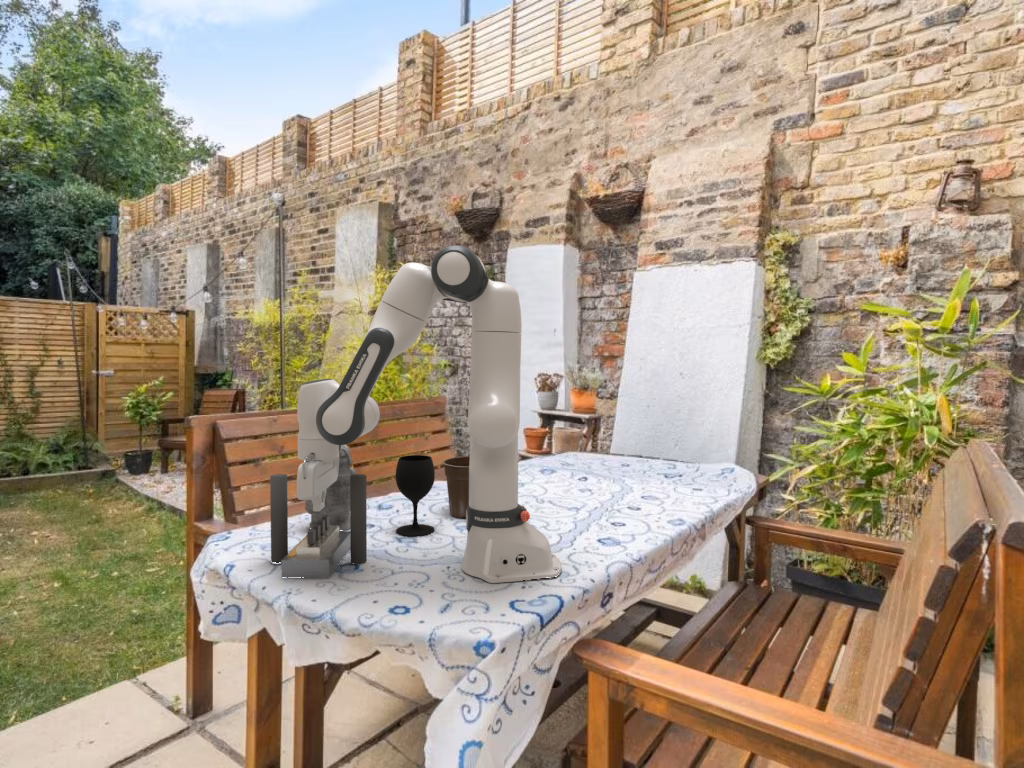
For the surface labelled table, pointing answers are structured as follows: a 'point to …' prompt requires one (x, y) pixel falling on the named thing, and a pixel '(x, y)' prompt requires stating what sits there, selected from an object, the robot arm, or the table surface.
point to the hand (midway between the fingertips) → (318, 509)
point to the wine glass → (415, 488)
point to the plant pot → (457, 484)
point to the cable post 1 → (279, 517)
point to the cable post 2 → (358, 519)
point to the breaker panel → (317, 562)
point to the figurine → (336, 496)
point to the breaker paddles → (318, 529)
